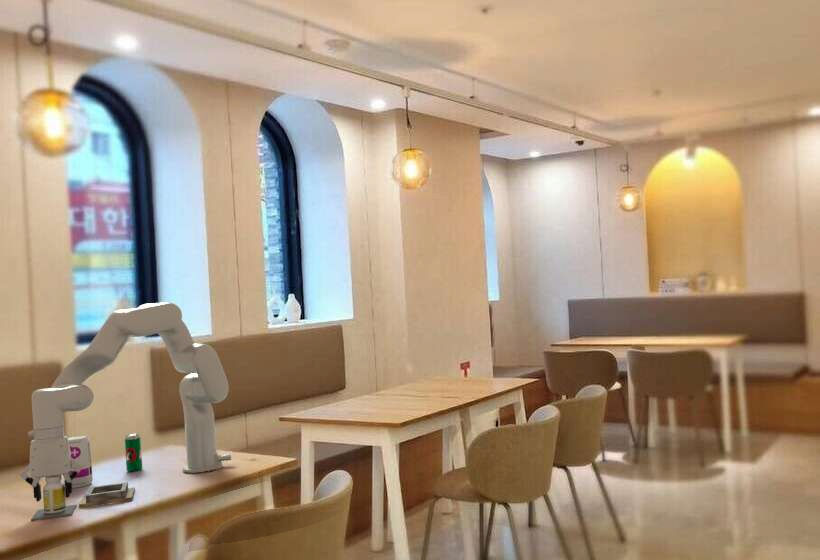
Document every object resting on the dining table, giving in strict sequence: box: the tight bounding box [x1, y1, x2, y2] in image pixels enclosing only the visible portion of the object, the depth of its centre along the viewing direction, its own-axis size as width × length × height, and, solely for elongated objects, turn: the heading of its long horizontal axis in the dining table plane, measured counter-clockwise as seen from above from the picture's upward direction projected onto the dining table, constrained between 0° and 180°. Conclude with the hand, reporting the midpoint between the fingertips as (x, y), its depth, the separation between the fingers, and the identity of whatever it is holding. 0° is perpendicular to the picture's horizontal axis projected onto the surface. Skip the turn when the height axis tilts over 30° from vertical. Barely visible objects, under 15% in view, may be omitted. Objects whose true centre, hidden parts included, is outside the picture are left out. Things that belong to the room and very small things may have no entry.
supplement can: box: [63, 435, 93, 489], centre depth 239 cm, size 8×8×15 cm
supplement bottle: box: [42, 475, 67, 514], centre depth 207 cm, size 5×5×10 cm
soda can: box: [124, 433, 143, 473], centre depth 254 cm, size 5×5×12 cm
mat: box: [30, 504, 78, 522], centre depth 207 cm, size 10×10×1 cm
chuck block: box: [78, 481, 136, 509], centre depth 219 cm, size 14×12×3 cm
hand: (53, 497), depth 207 cm, fingers open, 6 cm apart
